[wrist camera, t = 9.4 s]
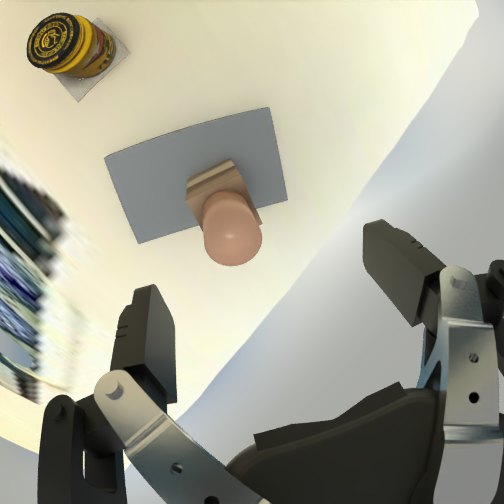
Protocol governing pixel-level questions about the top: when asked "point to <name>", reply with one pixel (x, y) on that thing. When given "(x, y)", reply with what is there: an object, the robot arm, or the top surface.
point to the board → (194, 170)
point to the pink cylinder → (230, 229)
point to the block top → (217, 182)
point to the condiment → (74, 51)
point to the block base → (209, 172)
